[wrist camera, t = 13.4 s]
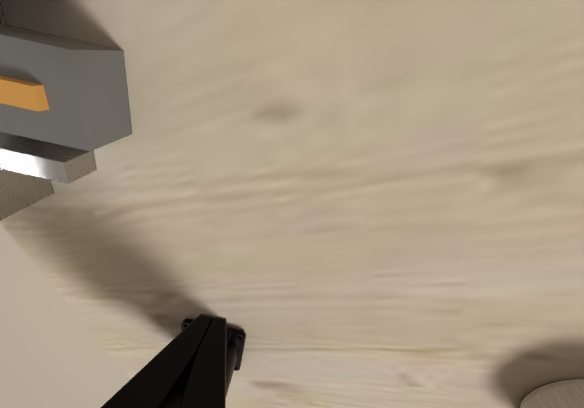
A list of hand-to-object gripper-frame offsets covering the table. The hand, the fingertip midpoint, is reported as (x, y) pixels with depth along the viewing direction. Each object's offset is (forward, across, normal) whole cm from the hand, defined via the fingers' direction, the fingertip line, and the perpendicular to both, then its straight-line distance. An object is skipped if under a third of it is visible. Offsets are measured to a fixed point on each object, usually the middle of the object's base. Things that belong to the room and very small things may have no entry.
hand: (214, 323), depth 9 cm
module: (+12, +13, -4) cm, 18 cm away
